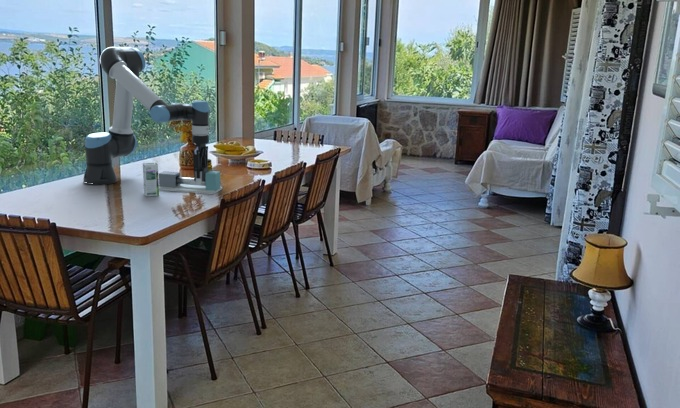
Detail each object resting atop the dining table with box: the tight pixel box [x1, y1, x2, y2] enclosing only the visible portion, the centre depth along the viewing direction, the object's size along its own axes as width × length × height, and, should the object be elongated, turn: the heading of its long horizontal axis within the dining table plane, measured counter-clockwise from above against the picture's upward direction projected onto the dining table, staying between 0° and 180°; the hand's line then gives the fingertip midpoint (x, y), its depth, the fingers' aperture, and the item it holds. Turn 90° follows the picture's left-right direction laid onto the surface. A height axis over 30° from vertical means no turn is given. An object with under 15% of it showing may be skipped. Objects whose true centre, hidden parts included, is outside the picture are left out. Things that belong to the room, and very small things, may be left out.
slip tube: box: [176, 166, 208, 186], centre depth 280 cm, size 22×4×9 cm, turn 82°
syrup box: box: [142, 162, 160, 197], centre depth 266 cm, size 6×6×14 cm
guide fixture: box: [158, 170, 223, 195], centre depth 281 cm, size 28×12×9 cm, turn 82°
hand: (201, 183), depth 280 cm, fingers closed on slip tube, 4 cm apart
